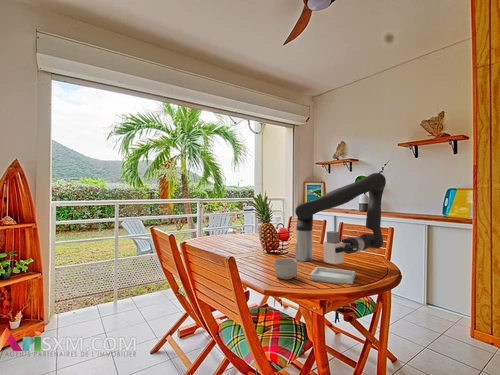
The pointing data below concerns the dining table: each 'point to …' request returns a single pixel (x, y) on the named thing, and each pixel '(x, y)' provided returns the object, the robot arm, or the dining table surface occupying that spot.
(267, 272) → the dining table surface
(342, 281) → the tray
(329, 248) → the beige rectangular block
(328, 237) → the block
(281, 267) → the teacup
